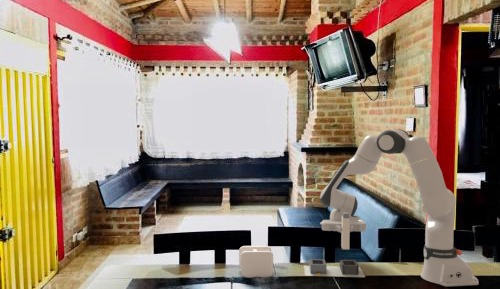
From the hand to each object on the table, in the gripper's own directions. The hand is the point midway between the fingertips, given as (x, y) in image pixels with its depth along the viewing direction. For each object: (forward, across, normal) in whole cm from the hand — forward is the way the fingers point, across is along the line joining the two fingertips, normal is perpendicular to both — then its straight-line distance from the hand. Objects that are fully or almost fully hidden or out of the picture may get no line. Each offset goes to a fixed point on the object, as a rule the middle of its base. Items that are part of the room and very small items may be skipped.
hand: (345, 229), depth 184 cm
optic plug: (-1, 0, +8) cm, 9 cm away
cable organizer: (+2, -40, +20) cm, 45 cm away
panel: (-1, -5, +20) cm, 21 cm away
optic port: (-1, -12, +19) cm, 23 cm away
